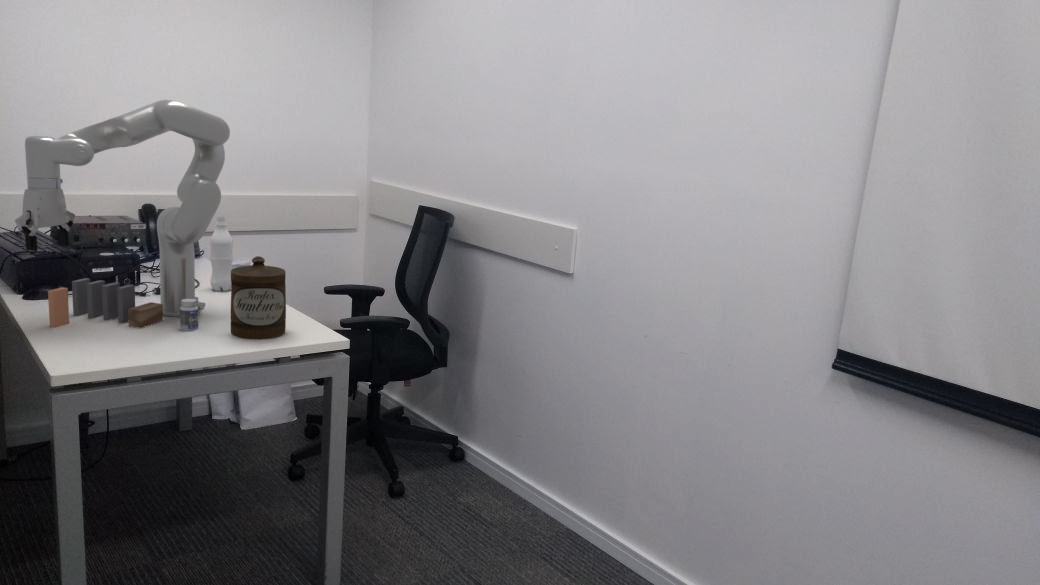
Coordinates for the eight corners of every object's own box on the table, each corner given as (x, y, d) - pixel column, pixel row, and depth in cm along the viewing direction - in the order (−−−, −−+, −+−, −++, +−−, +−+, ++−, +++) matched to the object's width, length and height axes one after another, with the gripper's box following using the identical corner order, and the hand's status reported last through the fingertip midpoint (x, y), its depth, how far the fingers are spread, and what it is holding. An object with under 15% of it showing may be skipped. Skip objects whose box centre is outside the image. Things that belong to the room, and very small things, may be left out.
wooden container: (232, 341, 211) (231, 261, 206) (229, 326, 224) (229, 251, 219) (288, 339, 217) (289, 261, 212) (282, 324, 230) (283, 252, 225)
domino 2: (91, 312, 227) (89, 278, 225) (78, 315, 222) (76, 281, 220) (86, 311, 227) (85, 278, 225) (73, 315, 222) (71, 281, 220)
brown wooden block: (162, 320, 224) (162, 304, 223) (141, 328, 215) (140, 310, 214) (150, 318, 225) (150, 302, 224) (128, 326, 216) (128, 308, 215)
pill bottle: (191, 332, 216) (191, 302, 214) (176, 329, 217) (176, 300, 215) (201, 328, 220) (201, 299, 218) (186, 325, 221) (186, 297, 219)
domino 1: (69, 323, 215) (67, 288, 213) (54, 327, 210) (52, 291, 208) (64, 322, 215) (62, 287, 213) (49, 326, 210) (47, 290, 208)
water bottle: (224, 286, 270) (224, 215, 265) (237, 290, 266) (237, 218, 261) (206, 289, 265) (205, 216, 259) (218, 293, 261) (218, 219, 255)
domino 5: (135, 318, 224) (134, 285, 222) (123, 322, 219) (122, 288, 217) (130, 318, 224) (129, 284, 222) (118, 322, 219) (117, 287, 217)
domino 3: (106, 314, 226) (104, 280, 224) (93, 318, 221) (91, 284, 219) (101, 313, 226) (99, 280, 224) (88, 317, 221) (86, 283, 219)
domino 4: (120, 316, 225) (119, 283, 223) (108, 320, 220) (106, 286, 218) (116, 315, 225) (114, 282, 223) (103, 319, 220) (101, 285, 218)
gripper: (61, 180, 213) (64, 242, 217) (3, 184, 197) (7, 250, 201) (82, 183, 211) (85, 245, 215) (25, 187, 195) (29, 254, 199)
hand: (47, 247), depth 208 cm, fingers open, 9 cm apart
